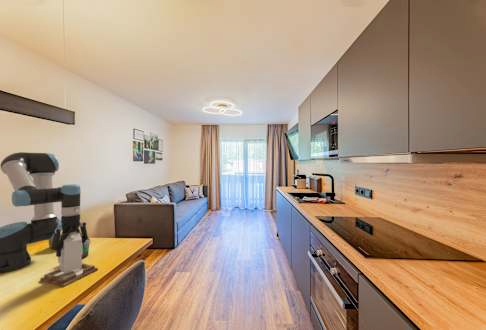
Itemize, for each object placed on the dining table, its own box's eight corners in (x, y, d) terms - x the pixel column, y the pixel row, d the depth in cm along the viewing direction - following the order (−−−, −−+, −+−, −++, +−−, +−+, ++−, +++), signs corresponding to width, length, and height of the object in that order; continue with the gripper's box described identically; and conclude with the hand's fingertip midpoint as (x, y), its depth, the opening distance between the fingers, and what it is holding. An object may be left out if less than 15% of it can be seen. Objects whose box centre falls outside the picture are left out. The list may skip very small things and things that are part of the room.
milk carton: (59, 269, 104) (59, 232, 104) (76, 264, 110) (76, 229, 110) (64, 273, 100) (64, 235, 100) (81, 267, 106) (81, 231, 106)
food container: (76, 262, 118) (76, 245, 118) (67, 261, 119) (68, 244, 119) (95, 253, 130) (95, 238, 130) (87, 253, 132) (87, 237, 132)
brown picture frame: (40, 280, 100) (40, 275, 100) (75, 265, 115) (75, 260, 115) (64, 286, 95) (64, 281, 95) (97, 270, 110) (97, 265, 110)
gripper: (51, 220, 94) (51, 269, 94) (96, 210, 114) (96, 251, 114) (40, 219, 96) (40, 267, 96) (86, 209, 116) (86, 249, 116)
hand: (70, 258), depth 105 cm, fingers closed on milk carton, 8 cm apart
